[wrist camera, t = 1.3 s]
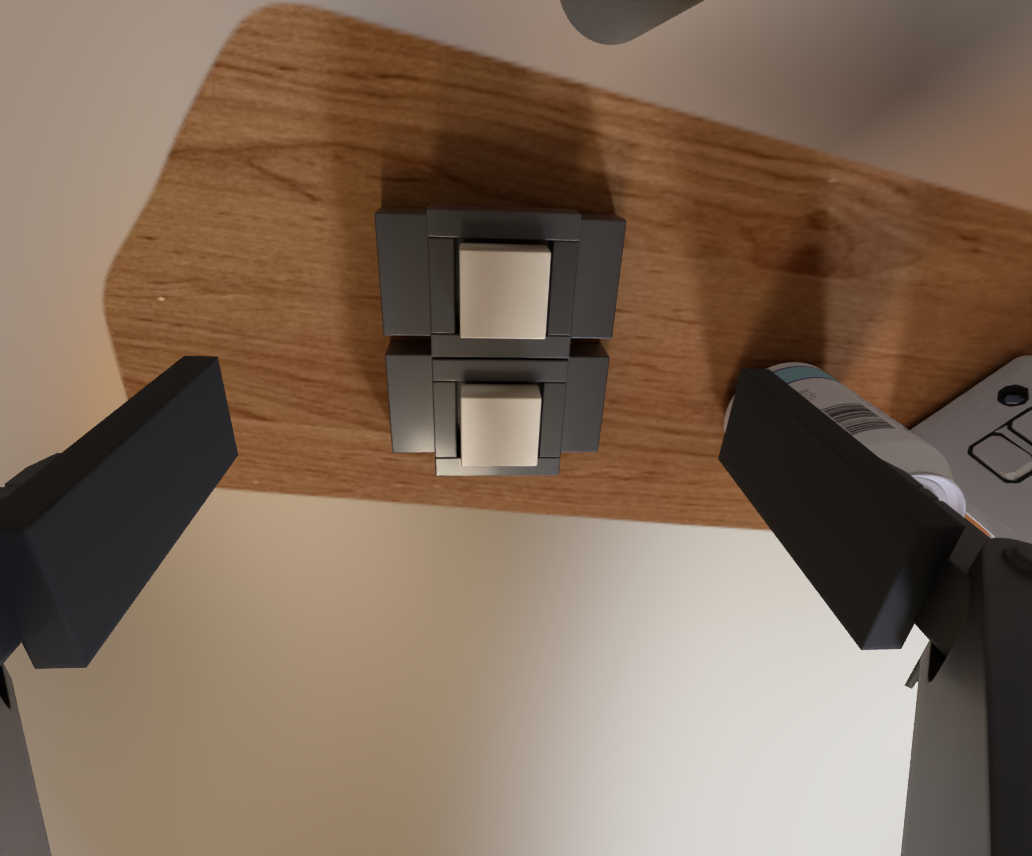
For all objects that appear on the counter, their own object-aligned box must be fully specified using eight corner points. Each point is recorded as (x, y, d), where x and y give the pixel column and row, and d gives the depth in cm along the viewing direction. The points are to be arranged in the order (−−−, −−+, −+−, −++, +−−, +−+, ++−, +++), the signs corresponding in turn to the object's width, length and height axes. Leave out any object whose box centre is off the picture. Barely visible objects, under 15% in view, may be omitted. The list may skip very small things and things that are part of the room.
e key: (538, 383, 29) (541, 397, 28) (534, 449, 31) (537, 466, 30) (461, 383, 29) (460, 397, 27) (461, 449, 31) (461, 466, 29)
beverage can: (697, 437, 36) (791, 567, 25) (755, 340, 33) (889, 440, 22) (786, 467, 37) (910, 601, 27) (849, 376, 34) (1016, 486, 24)
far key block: (602, 335, 32) (618, 361, 29) (590, 441, 35) (603, 475, 32) (389, 332, 31) (378, 358, 28) (397, 441, 34) (388, 476, 31)
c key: (546, 244, 26) (551, 251, 24) (541, 328, 28) (545, 339, 26) (459, 242, 26) (459, 249, 24) (460, 326, 28) (460, 338, 26)
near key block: (617, 204, 29) (637, 215, 25) (602, 333, 32) (619, 359, 29) (380, 196, 28) (366, 206, 24) (389, 330, 31) (378, 356, 28)
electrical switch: (1023, 347, 34) (1198, 427, 27) (1043, 397, 37) (1208, 485, 29) (884, 442, 37) (1005, 540, 29) (910, 483, 39) (1029, 584, 32)
